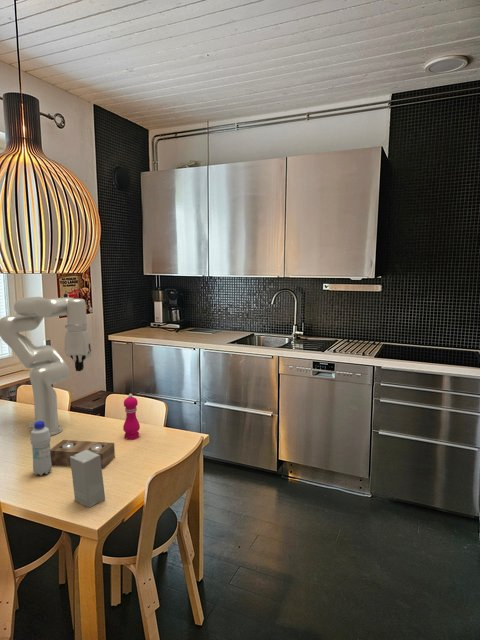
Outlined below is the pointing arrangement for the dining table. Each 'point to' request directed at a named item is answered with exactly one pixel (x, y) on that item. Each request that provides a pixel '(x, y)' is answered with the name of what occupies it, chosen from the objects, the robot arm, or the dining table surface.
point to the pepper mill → (131, 418)
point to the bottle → (41, 448)
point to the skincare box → (87, 478)
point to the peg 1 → (67, 445)
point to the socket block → (63, 455)
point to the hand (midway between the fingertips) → (79, 370)
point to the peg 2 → (96, 447)
